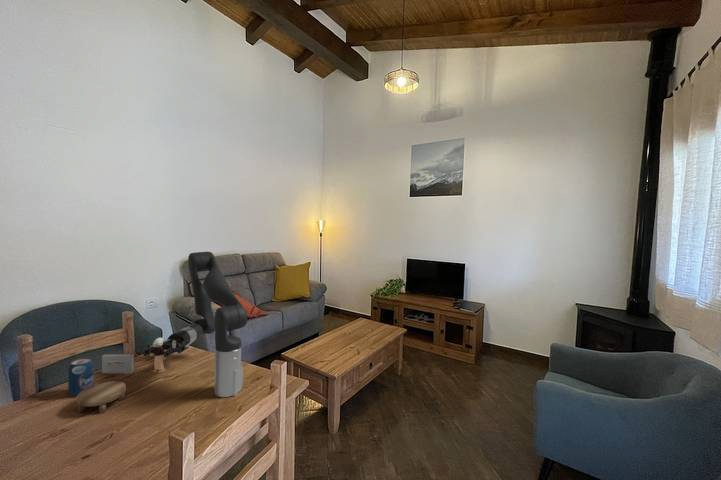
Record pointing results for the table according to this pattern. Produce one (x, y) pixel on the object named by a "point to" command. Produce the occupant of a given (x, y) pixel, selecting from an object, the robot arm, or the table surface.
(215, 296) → the robot arm
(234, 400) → the table surface
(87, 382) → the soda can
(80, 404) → the beige footstool
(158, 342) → the grandmother figurine
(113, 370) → the cassette
